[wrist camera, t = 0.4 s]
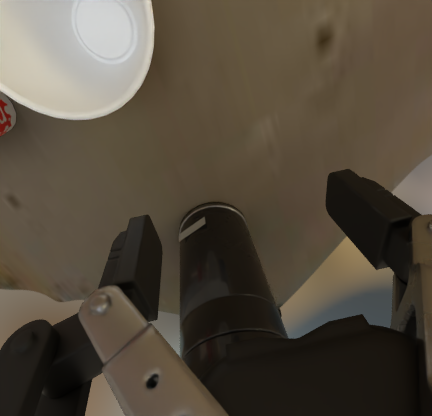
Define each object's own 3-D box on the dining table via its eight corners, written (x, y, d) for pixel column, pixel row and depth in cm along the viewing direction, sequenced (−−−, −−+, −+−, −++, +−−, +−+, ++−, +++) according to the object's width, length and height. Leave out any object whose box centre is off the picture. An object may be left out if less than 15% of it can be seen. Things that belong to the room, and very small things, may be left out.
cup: (10, -3, 19) (-142, -46, 10) (110, -90, 18) (33, -236, 8) (102, 112, 25) (56, 151, 15) (186, 54, 23) (191, 60, 14)
